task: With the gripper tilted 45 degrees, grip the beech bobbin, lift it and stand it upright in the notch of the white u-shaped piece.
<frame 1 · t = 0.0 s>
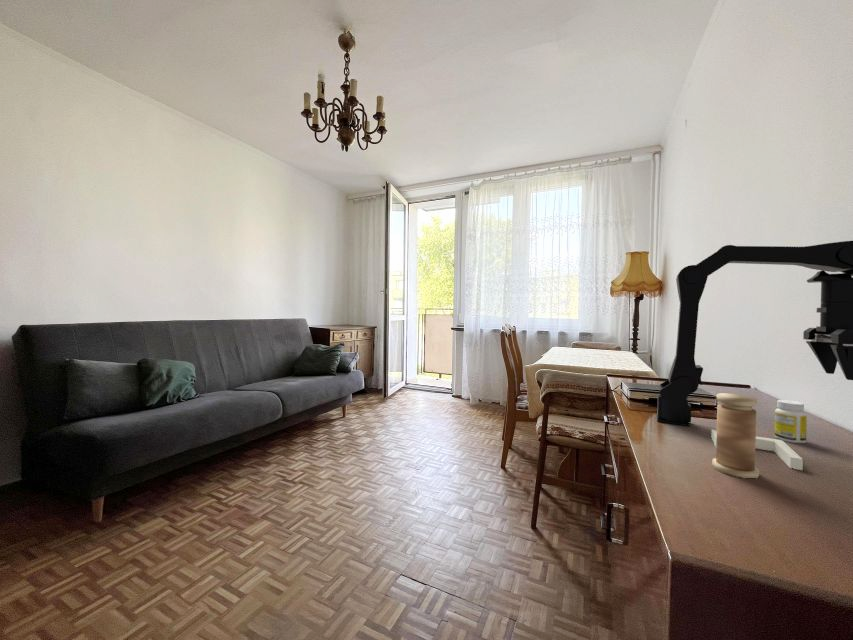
hand: (839, 376, 70), 15 cm above the sideboard, tool pointing down, fingers open, 9 cm apart
bobbin: (734, 470, 59), on the sideboard
white u-shaped piece: (752, 454, 66), on the sideboard
supplement bottle: (789, 440, 74), on the sideboard
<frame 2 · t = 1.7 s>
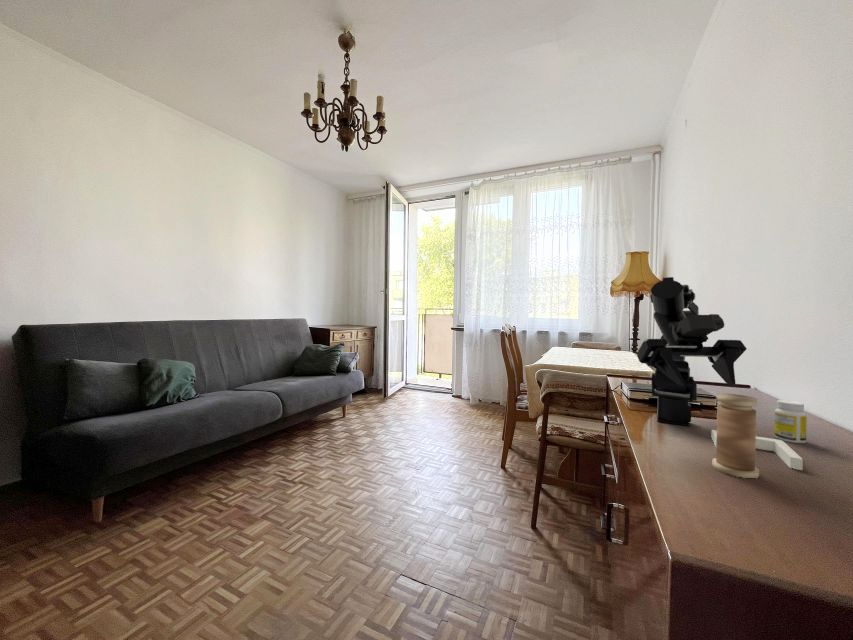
hand: (707, 384, 66), 13 cm above the sideboard, tool tilted 45°, fingers open, 9 cm apart
nothing on the sideboard moved.
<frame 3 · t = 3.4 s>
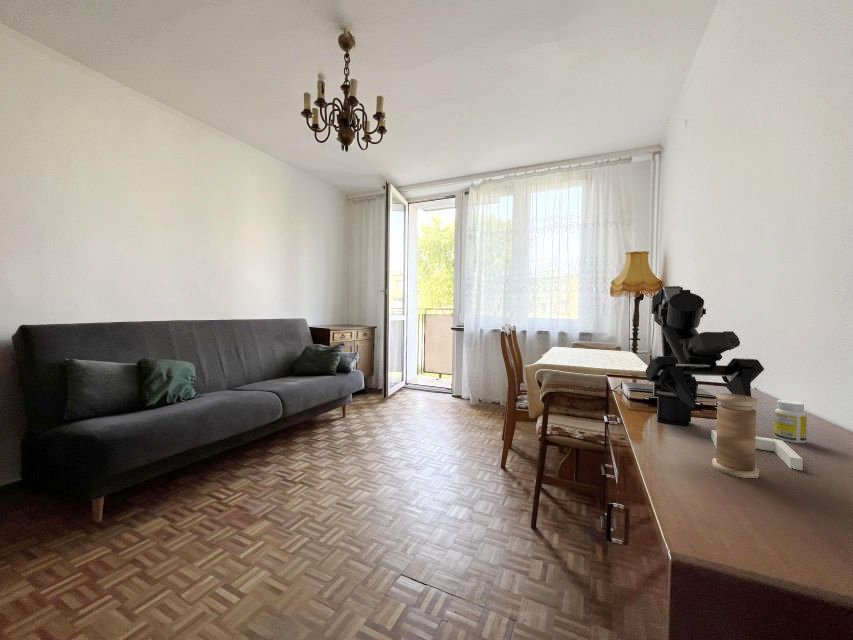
hand: (721, 407, 62), 10 cm above the sideboard, tool tilted 45°, fingers open, 9 cm apart
nothing on the sideboard moved.
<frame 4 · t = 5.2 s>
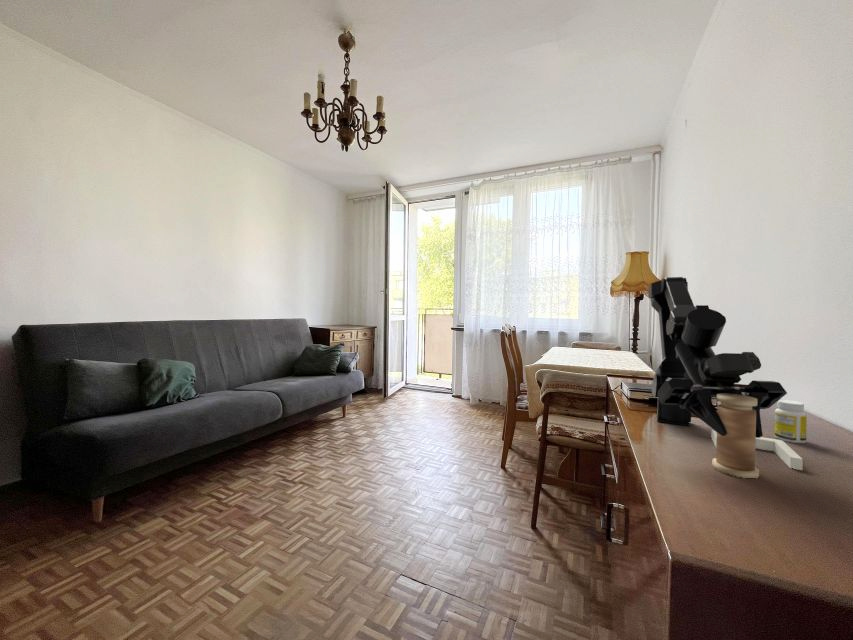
hand: (741, 435, 57), 7 cm above the sideboard, tool tilted 45°, fingers closed on bobbin, 5 cm apart
bobbin: (734, 470, 59), on the sideboard, touching gripper
everything else where it was.
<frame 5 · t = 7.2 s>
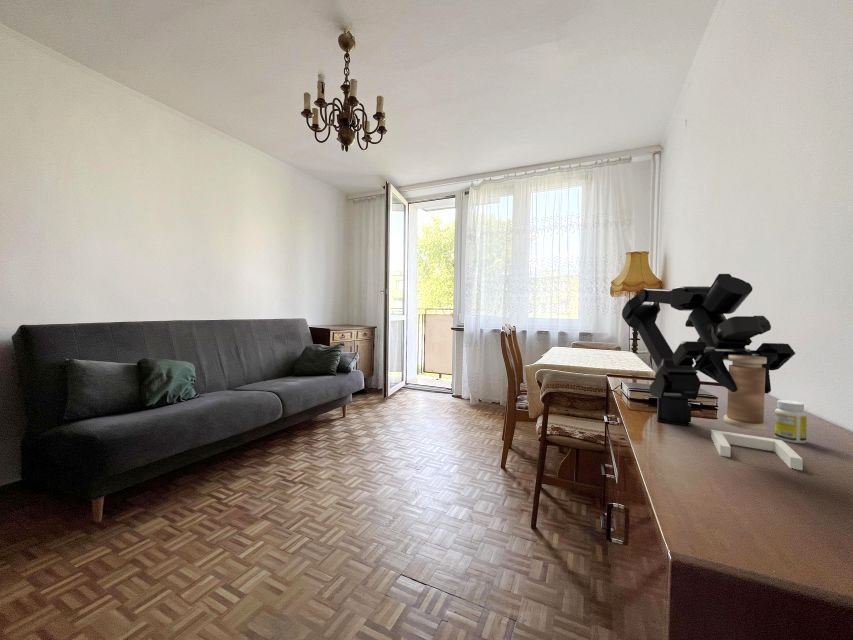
hand: (751, 391, 62), 13 cm above the sideboard, tool tilted 45°, fingers closed on bobbin, 5 cm apart
bobbin: (744, 424, 63), point 7 cm above the sideboard, touching gripper
everything else where it was.
when the fingers open (8 cm above the sideboard, at t = 9.3 s): bobbin drops 1 cm, on the sideboard.
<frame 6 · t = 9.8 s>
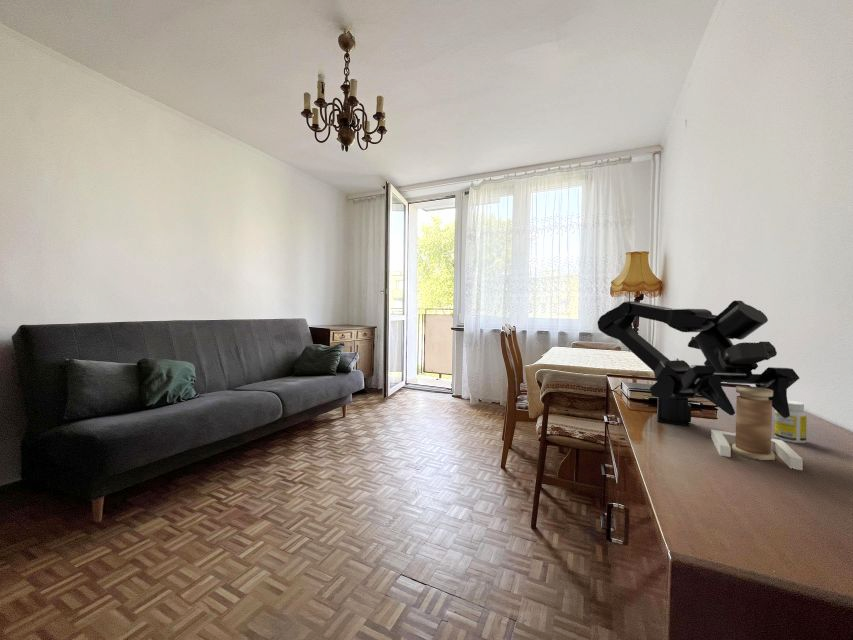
hand: (759, 415, 64), 8 cm above the sideboard, tool tilted 45°, fingers open, 9 cm apart
bobbin: (752, 454, 66), on the sideboard
everything else where it was.
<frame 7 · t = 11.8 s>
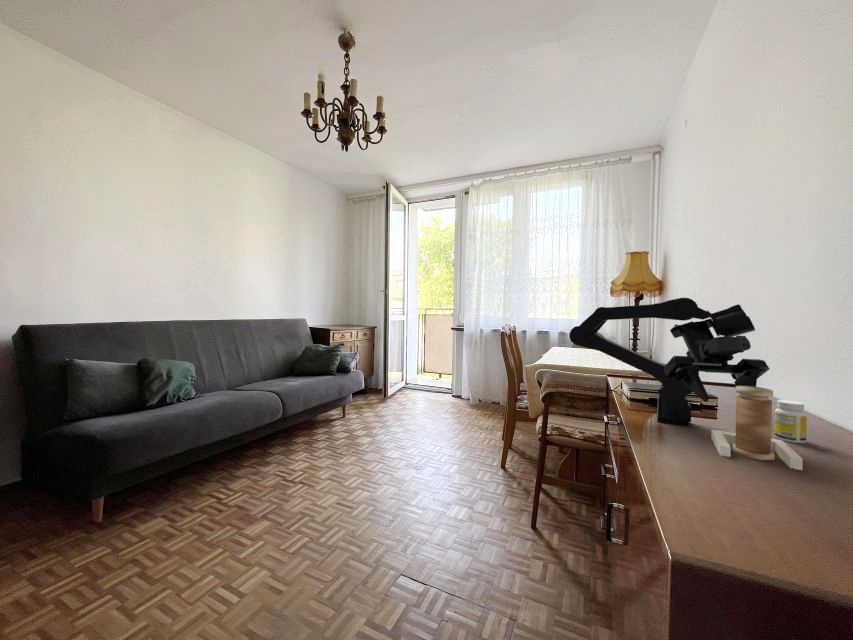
hand: (730, 402, 72), 9 cm above the sideboard, tool tilted 40°, fingers open, 9 cm apart
nothing on the sideboard moved.
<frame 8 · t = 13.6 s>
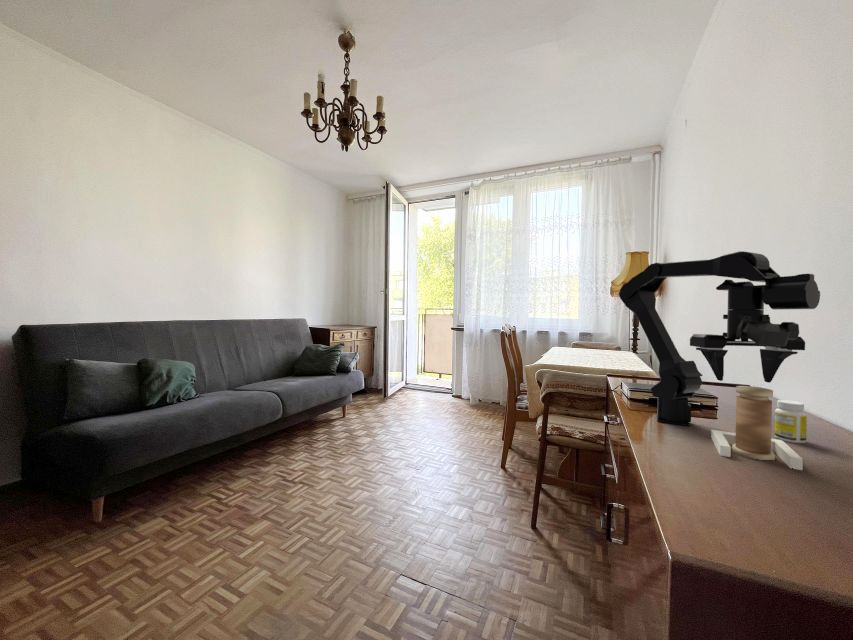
hand: (743, 381, 73), 13 cm above the sideboard, tool pointing down, fingers open, 9 cm apart
nothing on the sideboard moved.
at the end: bobbin 0.6 cm off-centre on the white u-shaped piece, point 0.0 cm above the white u-shaped piece's base; bobbin tilted 0°; the gripper is holding nothing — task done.
